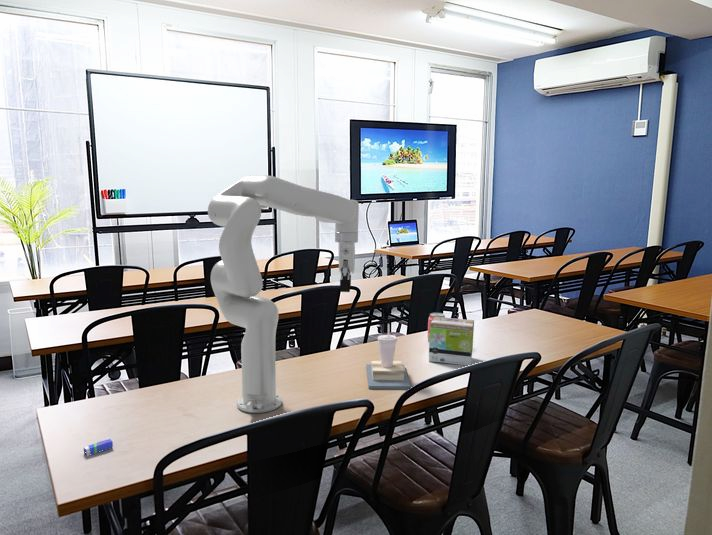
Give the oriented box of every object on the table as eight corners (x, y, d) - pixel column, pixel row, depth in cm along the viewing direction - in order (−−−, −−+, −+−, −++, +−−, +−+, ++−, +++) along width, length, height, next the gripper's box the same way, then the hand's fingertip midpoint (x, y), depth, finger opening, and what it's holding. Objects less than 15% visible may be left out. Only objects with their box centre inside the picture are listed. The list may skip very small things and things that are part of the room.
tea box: (428, 362, 194) (429, 322, 191) (431, 353, 203) (433, 315, 201) (470, 366, 190) (472, 325, 187) (472, 357, 199) (474, 318, 197)
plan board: (410, 389, 168) (410, 386, 168) (368, 388, 168) (368, 385, 168) (403, 367, 188) (403, 364, 188) (366, 367, 188) (366, 364, 188)
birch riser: (403, 380, 173) (404, 371, 173) (372, 380, 173) (372, 371, 172) (400, 369, 183) (401, 360, 182) (371, 369, 183) (371, 360, 182)
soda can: (447, 342, 217) (449, 313, 215) (440, 347, 211) (442, 317, 209) (431, 339, 221) (432, 311, 219) (424, 344, 215) (425, 314, 213)
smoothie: (400, 365, 178) (401, 324, 175) (388, 370, 173) (388, 328, 171) (385, 361, 182) (386, 320, 180) (373, 365, 177) (373, 324, 175)
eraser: (83, 454, 127) (83, 446, 127) (110, 446, 131) (109, 438, 131) (86, 457, 126) (85, 449, 125) (113, 449, 130) (112, 441, 129)
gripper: (357, 240, 168) (356, 294, 170) (358, 235, 185) (357, 284, 187) (333, 239, 168) (332, 293, 170) (336, 235, 185) (335, 284, 188)
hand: (345, 289), depth 179 cm, fingers open, 9 cm apart
